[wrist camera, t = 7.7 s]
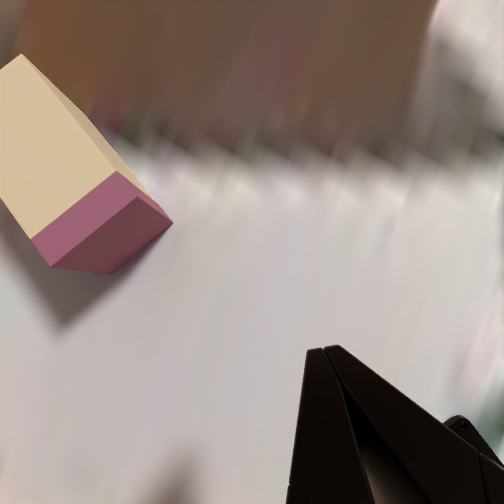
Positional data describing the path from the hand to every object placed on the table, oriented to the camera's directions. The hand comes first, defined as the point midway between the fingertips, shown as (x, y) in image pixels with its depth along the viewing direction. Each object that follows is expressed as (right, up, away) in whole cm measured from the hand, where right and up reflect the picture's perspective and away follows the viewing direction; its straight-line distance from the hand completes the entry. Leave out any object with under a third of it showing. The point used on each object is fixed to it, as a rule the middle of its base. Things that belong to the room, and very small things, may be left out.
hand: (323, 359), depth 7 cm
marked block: (-10, +4, +11) cm, 15 cm away
